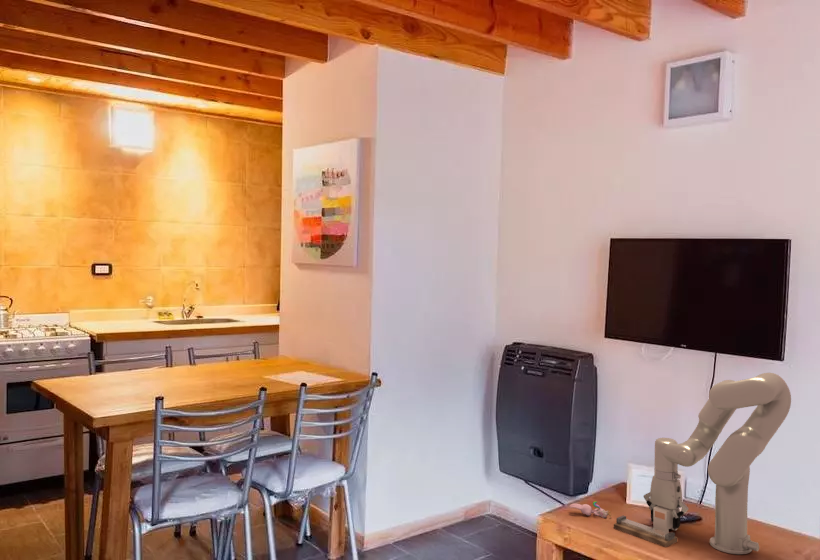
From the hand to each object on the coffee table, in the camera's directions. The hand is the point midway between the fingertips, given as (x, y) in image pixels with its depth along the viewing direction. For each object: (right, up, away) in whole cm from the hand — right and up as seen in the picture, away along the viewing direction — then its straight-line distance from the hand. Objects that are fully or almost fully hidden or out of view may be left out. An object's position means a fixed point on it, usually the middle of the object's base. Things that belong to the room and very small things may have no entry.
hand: (665, 524), depth 236 cm
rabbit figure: (-23, -2, +13) cm, 26 cm away
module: (0, -2, 0) cm, 2 cm away
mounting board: (-9, -2, -4) cm, 10 cm away
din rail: (-9, -1, -4) cm, 10 cm away
